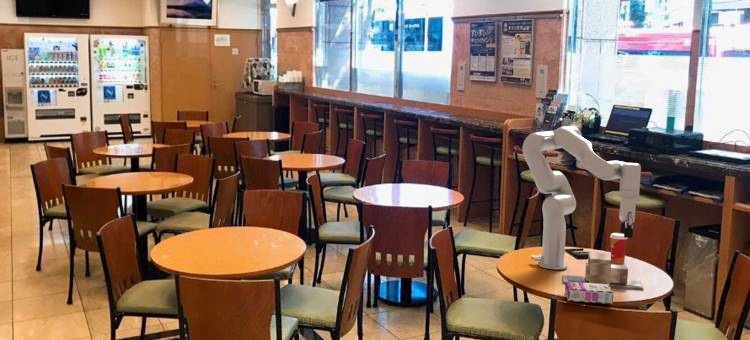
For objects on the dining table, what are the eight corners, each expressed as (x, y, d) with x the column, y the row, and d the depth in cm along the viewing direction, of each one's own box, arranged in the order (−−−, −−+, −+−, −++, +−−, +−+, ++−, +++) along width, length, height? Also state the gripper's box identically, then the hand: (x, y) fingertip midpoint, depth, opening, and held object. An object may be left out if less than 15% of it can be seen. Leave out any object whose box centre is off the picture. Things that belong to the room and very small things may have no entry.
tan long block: (563, 284, 291) (564, 256, 289) (562, 276, 302) (563, 250, 301) (643, 290, 284) (645, 262, 282) (639, 282, 295) (641, 255, 294)
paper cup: (611, 261, 330) (613, 232, 328) (628, 264, 326) (630, 234, 324) (606, 264, 324) (607, 234, 322) (623, 267, 319) (625, 237, 318)
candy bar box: (567, 302, 267) (613, 304, 265) (568, 289, 267) (613, 291, 264) (564, 293, 278) (608, 296, 276) (565, 281, 278) (609, 283, 275)
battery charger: (596, 263, 328) (597, 254, 328) (577, 263, 326) (578, 255, 326) (582, 256, 341) (583, 248, 340) (564, 257, 339) (564, 248, 338)
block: (586, 280, 291) (586, 266, 291) (585, 276, 297) (586, 262, 296) (627, 283, 288) (628, 269, 287) (625, 279, 294) (626, 265, 293)
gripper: (616, 190, 296) (614, 230, 299) (622, 196, 280) (619, 239, 282) (635, 190, 295) (633, 231, 297) (642, 197, 278) (639, 240, 280)
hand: (626, 235), depth 289 cm, fingers open, 9 cm apart
